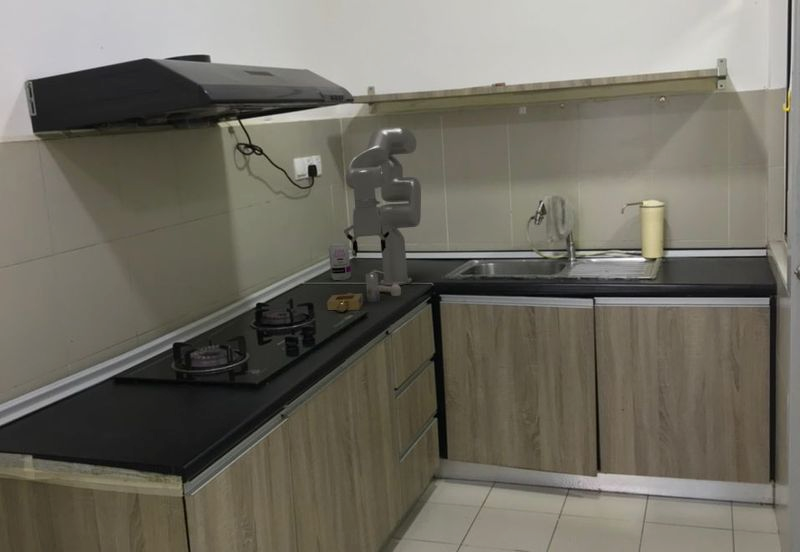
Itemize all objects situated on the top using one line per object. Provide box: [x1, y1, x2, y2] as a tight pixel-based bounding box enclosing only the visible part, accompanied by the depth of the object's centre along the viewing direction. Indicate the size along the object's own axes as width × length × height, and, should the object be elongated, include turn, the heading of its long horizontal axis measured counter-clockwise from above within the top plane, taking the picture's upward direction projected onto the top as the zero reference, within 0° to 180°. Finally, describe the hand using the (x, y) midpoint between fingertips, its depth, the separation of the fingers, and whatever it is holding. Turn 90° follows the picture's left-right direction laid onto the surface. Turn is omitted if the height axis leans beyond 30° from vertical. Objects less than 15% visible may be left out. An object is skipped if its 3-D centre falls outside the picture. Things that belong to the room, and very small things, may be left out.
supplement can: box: [328, 242, 352, 281], centre depth 359 cm, size 8×8×15 cm
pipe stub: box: [365, 272, 381, 303], centre depth 309 cm, size 4×4×10 cm
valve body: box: [326, 292, 364, 312], centre depth 302 cm, size 19×11×4 cm, turn 175°
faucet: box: [370, 269, 402, 297], centre depth 322 cm, size 4×18×10 cm, turn 41°
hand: (369, 251), depth 306 cm, fingers open, 9 cm apart
